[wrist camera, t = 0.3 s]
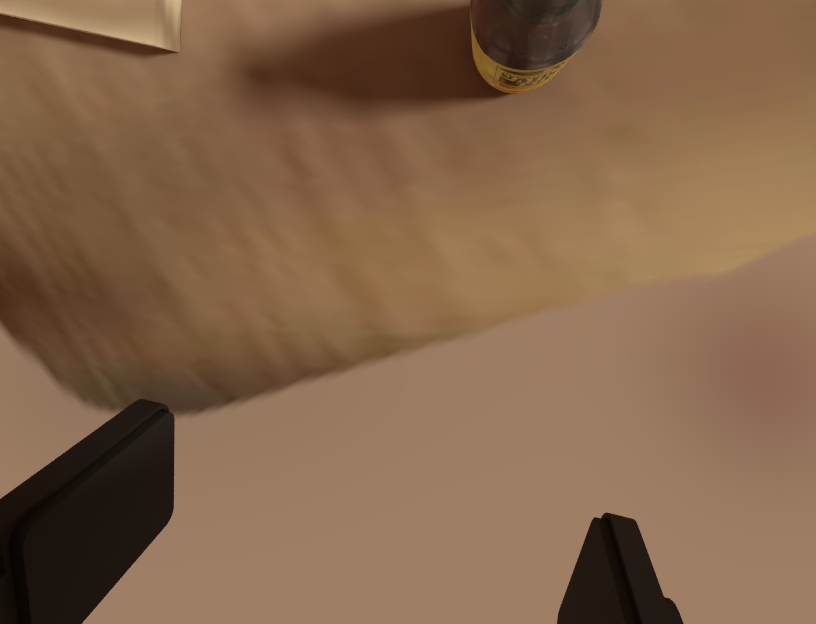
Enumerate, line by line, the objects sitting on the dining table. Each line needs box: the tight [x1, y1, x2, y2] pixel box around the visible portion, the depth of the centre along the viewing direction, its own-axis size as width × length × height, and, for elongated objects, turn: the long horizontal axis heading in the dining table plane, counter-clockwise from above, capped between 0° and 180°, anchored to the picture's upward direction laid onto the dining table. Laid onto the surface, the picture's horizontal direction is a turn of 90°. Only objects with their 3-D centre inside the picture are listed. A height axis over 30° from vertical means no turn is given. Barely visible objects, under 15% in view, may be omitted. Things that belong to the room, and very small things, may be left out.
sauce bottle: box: [470, 0, 602, 94], centre depth 26 cm, size 7×6×20 cm
